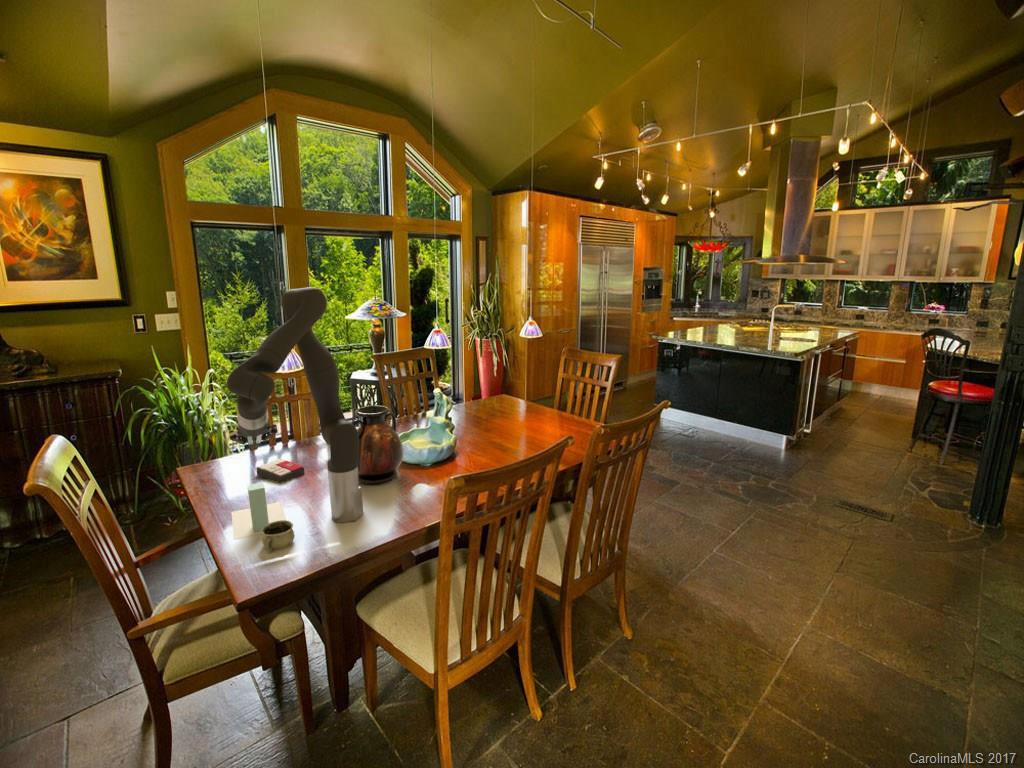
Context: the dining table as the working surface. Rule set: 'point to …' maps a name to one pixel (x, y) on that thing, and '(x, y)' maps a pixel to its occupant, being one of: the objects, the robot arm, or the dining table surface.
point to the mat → (244, 520)
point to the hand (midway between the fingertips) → (254, 445)
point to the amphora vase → (377, 446)
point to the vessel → (277, 535)
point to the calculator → (280, 470)
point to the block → (258, 506)
